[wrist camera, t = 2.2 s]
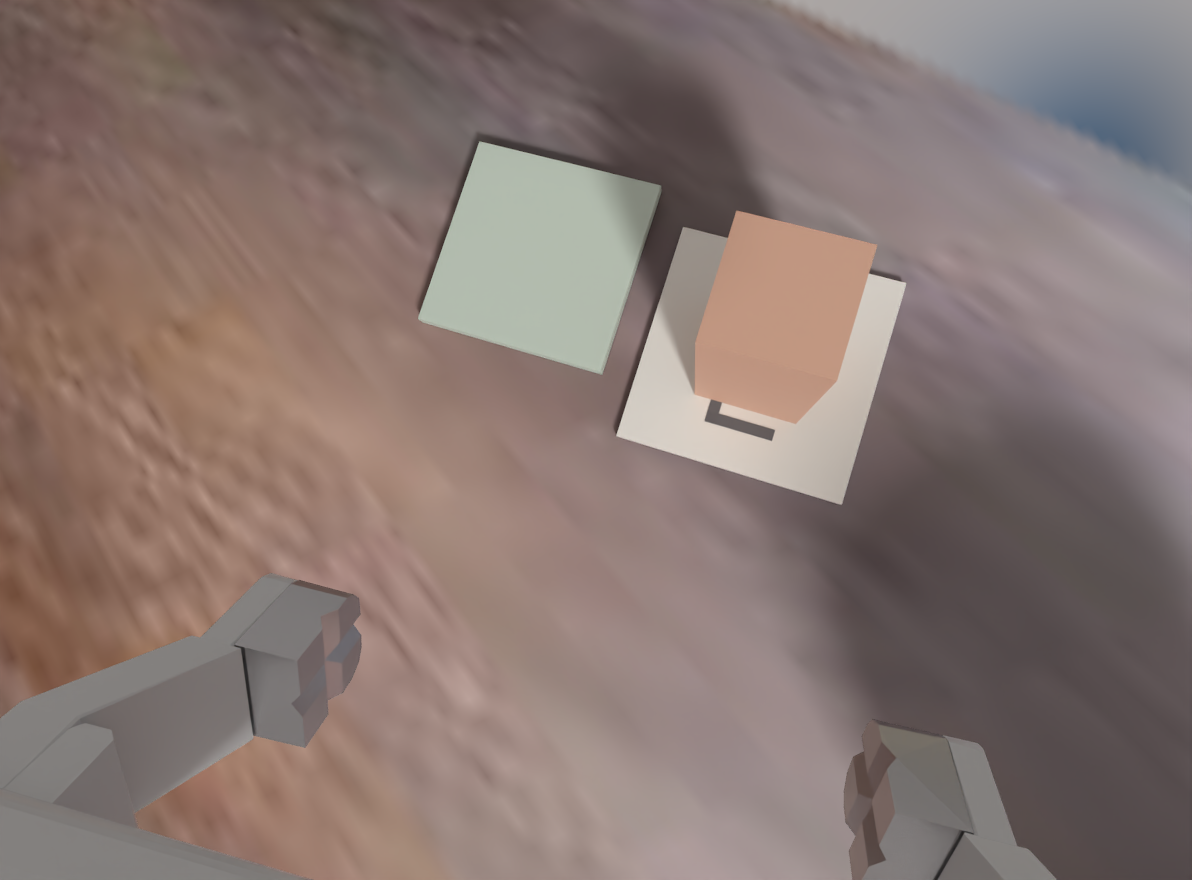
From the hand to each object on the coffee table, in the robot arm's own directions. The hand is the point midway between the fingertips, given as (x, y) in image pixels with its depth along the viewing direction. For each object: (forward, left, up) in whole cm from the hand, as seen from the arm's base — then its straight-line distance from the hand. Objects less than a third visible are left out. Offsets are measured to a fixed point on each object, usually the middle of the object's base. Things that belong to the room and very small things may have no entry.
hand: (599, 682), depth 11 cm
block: (+1, +11, -20) cm, 23 cm away
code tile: (+1, +11, -20) cm, 23 cm away
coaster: (-10, +13, -20) cm, 26 cm away
